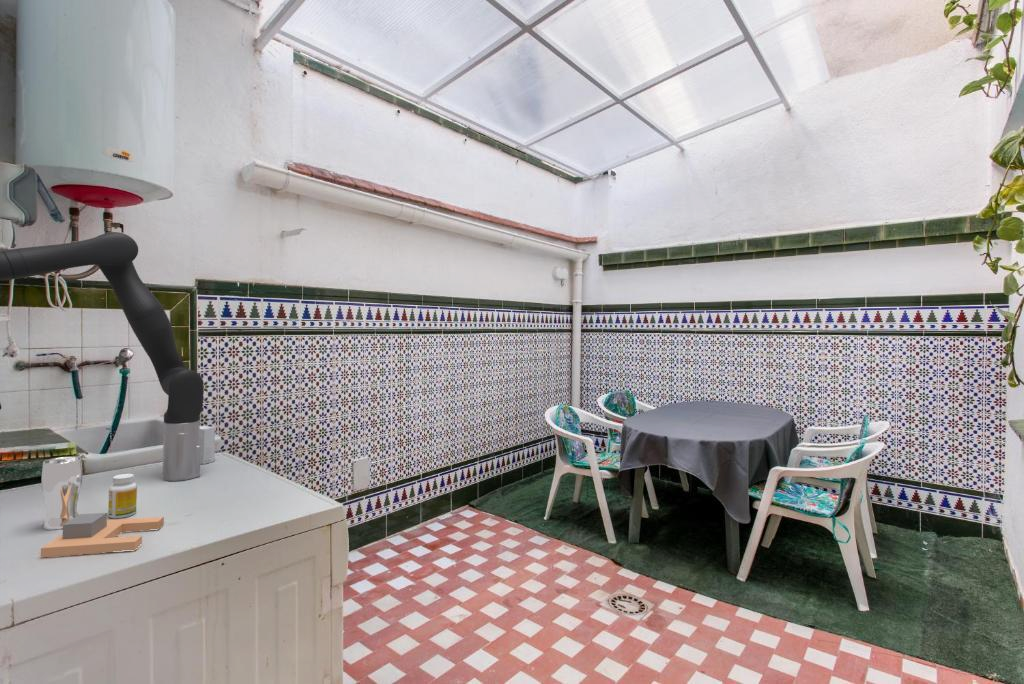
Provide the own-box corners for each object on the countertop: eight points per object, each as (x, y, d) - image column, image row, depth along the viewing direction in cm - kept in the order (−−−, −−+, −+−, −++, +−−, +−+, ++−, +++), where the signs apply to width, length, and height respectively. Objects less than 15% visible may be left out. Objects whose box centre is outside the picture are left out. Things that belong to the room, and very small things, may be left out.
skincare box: (215, 461, 170) (215, 427, 170) (203, 464, 166) (204, 429, 166) (201, 459, 172) (202, 425, 172) (190, 462, 168) (191, 427, 168)
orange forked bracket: (163, 525, 115) (164, 503, 115) (135, 551, 102) (135, 527, 102) (81, 530, 111) (82, 508, 111) (40, 558, 98) (41, 533, 98)
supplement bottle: (102, 518, 118) (103, 478, 118) (121, 510, 124) (121, 472, 123) (124, 519, 118) (124, 479, 118) (141, 511, 123) (142, 473, 123)
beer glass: (46, 533, 109) (47, 465, 109) (36, 526, 113) (37, 460, 112) (86, 523, 115) (87, 459, 115) (75, 517, 119) (76, 454, 118)
